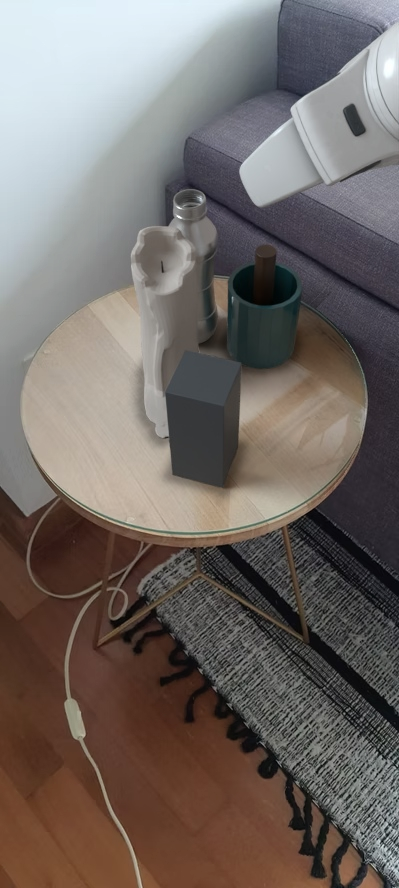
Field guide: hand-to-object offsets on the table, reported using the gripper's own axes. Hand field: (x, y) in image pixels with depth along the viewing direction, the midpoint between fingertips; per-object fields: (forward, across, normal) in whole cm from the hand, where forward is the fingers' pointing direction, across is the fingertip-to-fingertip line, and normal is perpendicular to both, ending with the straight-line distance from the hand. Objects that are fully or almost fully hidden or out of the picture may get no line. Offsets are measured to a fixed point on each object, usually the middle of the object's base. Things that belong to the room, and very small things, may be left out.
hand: (296, 168), depth 65 cm
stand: (+16, +16, +22) cm, 32 cm away
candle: (+24, +13, +15) cm, 31 cm away
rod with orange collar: (+22, -1, +15) cm, 27 cm away
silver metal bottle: (+28, +4, +10) cm, 30 cm away
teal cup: (+23, -1, +16) cm, 28 cm away
